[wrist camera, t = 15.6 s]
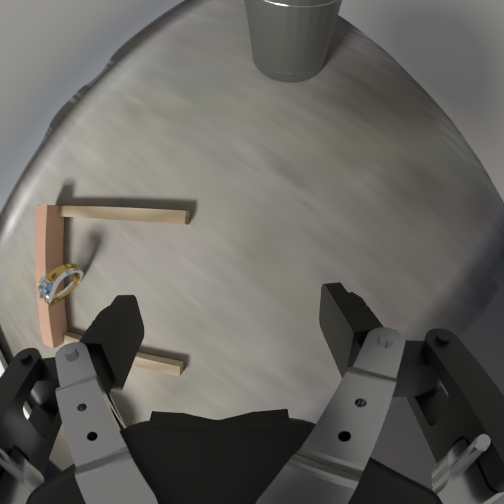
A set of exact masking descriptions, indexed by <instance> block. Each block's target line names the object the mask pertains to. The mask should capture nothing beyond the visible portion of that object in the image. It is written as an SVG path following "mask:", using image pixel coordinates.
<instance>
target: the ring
mask: <svg viewBox="0 0 504 504" xmlns="http://www.w3.org/2000/svg"><path fill="white" fill-rule="evenodd" d="M62 272H63V273H62ZM60 273H62V274H61V275H59V276H58V278H57V279H56V280H55V282H54V280H53V279H54V278H55V277H56V276H57V275H58V274H60ZM72 273H77V275H76V277H74V278H73V280H72V282H71V283H70V284H69V285H68V286H67V287H66V288H65V289H64V290H62V291H61V292H60V293H58V294H56V295H54V294H55V291H56V289H57V287H58V285H59V283H60V282H61V281H62V280H63V279H64V278H65V277H66V276H68V275H70V274H72ZM83 275H84V273H83V271H82V269H81V267H80V266H79V265H77V264H66V265H62V266H60V267H58V268H56V269H54V270H53V271H51V272H50V273H49V274H48V275H46V276H43V277H41V278H40V280H39V283H38V286H37V288H38V290H39V294H40V296H39V298H40V299H41V298H42V299H43V300H44V301H45V302H47V304H48V306H49V307H51V306H53V305H55V304H56V303H58V302H59V301H60V300H62V299H63V298H64V297H65V296H67V295H68V294H69V293H70V292H71V291H72V290H73V289H74V288H75V287H76V286H77V285H78V284H79V283H80V282H81V279H82V278H83Z"/></svg>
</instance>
